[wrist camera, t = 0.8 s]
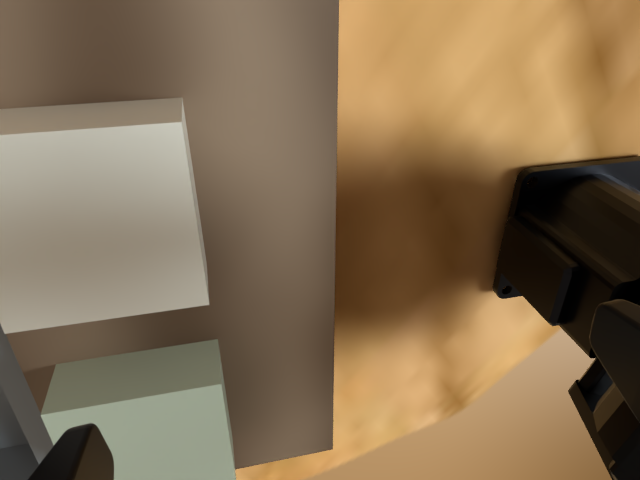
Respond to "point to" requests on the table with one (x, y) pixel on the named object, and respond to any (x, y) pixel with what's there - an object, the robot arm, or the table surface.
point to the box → (18, 420)
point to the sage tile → (150, 411)
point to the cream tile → (97, 214)
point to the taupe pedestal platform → (214, 188)
